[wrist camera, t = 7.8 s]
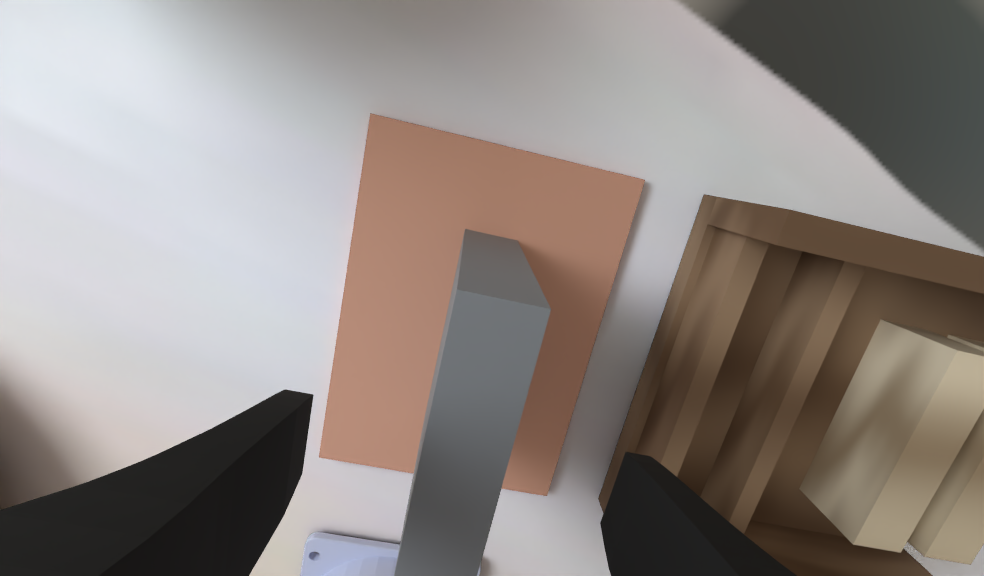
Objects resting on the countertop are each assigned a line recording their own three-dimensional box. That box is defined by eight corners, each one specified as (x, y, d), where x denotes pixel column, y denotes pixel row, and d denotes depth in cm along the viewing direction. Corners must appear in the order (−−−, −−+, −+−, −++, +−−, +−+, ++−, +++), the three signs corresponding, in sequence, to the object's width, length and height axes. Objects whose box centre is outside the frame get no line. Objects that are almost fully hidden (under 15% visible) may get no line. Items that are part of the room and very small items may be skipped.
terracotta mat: (545, 489, 21) (546, 496, 21) (321, 451, 20) (318, 457, 20) (641, 179, 17) (645, 179, 17) (372, 114, 16) (370, 113, 16)
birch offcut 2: (901, 507, 21) (970, 564, 18) (861, 500, 20) (924, 556, 18) (992, 344, 19) (1087, 379, 16) (948, 334, 18) (1036, 368, 16)
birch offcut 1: (840, 496, 20) (900, 552, 18) (799, 488, 20) (852, 544, 17) (926, 329, 18) (1010, 362, 15) (880, 319, 18) (957, 350, 15)
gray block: (471, 424, 19) (469, 601, 12) (424, 416, 19) (391, 590, 12) (517, 240, 17) (551, 309, 10) (465, 228, 17) (456, 289, 9)
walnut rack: (873, 546, 23) (981, 652, 18) (598, 498, 21) (634, 600, 16) (1025, 272, 19) (1213, 312, 14) (704, 194, 18) (790, 209, 13)
